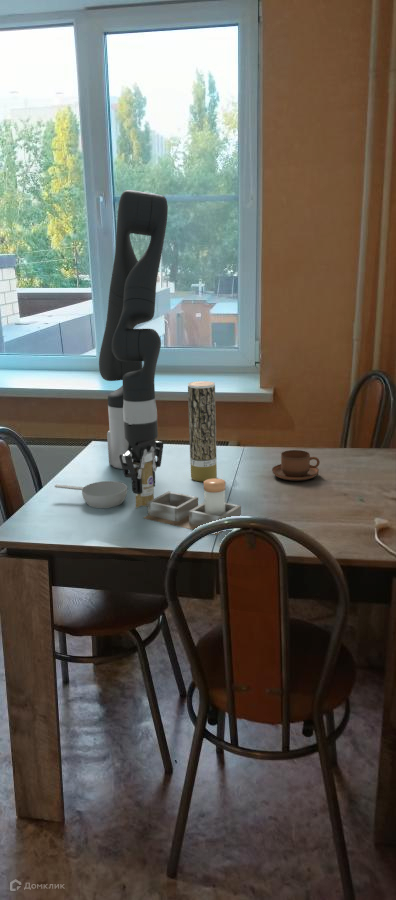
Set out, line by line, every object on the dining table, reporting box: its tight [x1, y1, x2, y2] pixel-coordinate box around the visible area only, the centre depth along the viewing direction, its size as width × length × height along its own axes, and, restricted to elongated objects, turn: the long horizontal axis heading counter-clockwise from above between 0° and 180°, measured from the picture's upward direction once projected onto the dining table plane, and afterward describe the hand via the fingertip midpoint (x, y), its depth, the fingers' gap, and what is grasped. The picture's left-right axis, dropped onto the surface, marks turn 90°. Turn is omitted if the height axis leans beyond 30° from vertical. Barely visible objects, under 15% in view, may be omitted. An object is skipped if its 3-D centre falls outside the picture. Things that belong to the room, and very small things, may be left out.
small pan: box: [54, 480, 128, 509], centre depth 166 cm, size 11×18×4 cm, turn 78°
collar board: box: [143, 490, 242, 536], centre depth 151 cm, size 19×12×4 cm, turn 57°
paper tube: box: [187, 380, 218, 483], centre depth 176 cm, size 7×7×25 cm
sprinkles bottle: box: [134, 452, 155, 509], centre depth 159 cm, size 5×5×14 cm
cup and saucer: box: [271, 449, 320, 482], centre depth 179 cm, size 12×12×6 cm
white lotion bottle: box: [203, 477, 226, 516], centre depth 147 cm, size 5×5×9 cm
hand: (144, 489), depth 160 cm, fingers closed on sprinkles bottle, 4 cm apart
